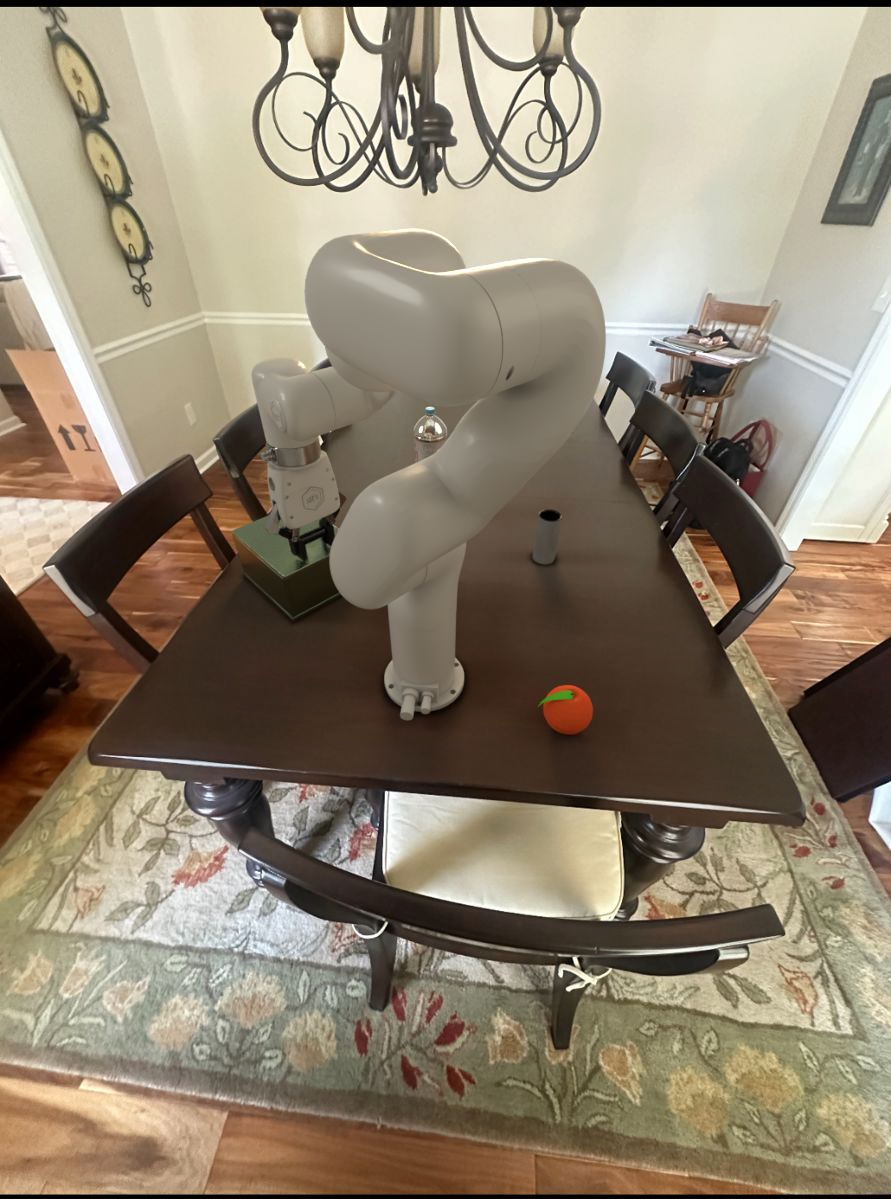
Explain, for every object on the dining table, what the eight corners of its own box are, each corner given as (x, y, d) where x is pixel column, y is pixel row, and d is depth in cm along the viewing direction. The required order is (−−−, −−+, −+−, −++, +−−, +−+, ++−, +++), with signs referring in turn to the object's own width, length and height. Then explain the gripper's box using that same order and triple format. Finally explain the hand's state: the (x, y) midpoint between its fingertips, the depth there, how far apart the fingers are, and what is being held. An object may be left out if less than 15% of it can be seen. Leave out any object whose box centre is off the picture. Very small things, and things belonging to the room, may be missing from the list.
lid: (357, 545, 92) (354, 520, 89) (285, 580, 85) (278, 555, 81) (301, 505, 102) (296, 482, 99) (231, 534, 95) (224, 509, 91)
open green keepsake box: (360, 585, 99) (355, 543, 93) (293, 622, 92) (282, 578, 85) (309, 546, 109) (301, 505, 102) (245, 576, 101) (231, 534, 95)
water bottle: (437, 528, 115) (436, 417, 98) (410, 520, 117) (406, 410, 101) (451, 514, 119) (453, 405, 103) (426, 506, 122) (424, 399, 105)
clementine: (538, 746, 73) (545, 716, 68) (528, 706, 78) (534, 676, 73) (594, 742, 73) (604, 712, 69) (580, 703, 78) (589, 672, 74)
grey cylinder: (551, 567, 104) (558, 523, 97) (529, 561, 106) (535, 518, 99) (557, 554, 107) (564, 512, 100) (536, 549, 109) (542, 507, 102)
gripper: (255, 477, 70) (282, 581, 82) (356, 441, 79) (367, 539, 91) (229, 459, 74) (258, 560, 86) (328, 426, 83) (342, 522, 95)
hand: (314, 548), depth 89 cm, fingers closed on lid, 5 cm apart
